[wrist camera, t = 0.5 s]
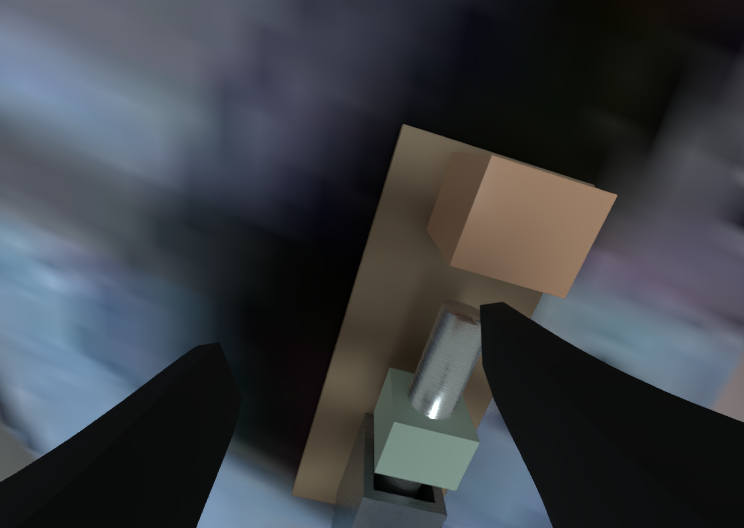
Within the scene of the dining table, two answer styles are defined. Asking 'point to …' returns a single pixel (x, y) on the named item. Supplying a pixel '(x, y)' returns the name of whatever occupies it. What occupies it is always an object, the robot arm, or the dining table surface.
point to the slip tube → (429, 410)
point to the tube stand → (436, 299)
